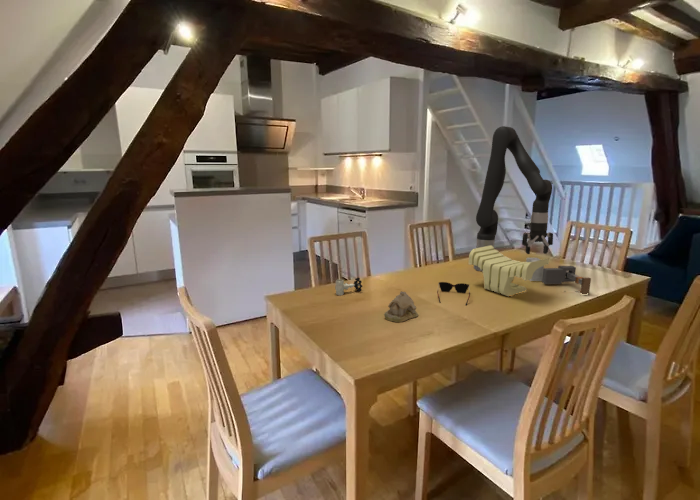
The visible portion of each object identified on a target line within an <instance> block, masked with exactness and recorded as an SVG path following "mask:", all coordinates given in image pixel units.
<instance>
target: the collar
mask: <svg viewBox="0 0 700 500" xmlns="http://www.w3.org/2000/svg"><path fill="white" fill-rule="evenodd" d="M559 266H560V268H558V267H554V268H553V267H547V268H545V267H544V268H543V277H542V283H543V284H545V285H562V283H564V282H565V283H566V282H567V283H568V282H570V283H571V282H573V283H574V282H575V281H573V280H571V279H569V278H567V277H566V271H569V272H571V273H573V274H575V275H576V269H577V267H575V266H574V265H559Z"/></svg>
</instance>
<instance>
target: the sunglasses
mask: <svg viewBox="0 0 700 500" xmlns="http://www.w3.org/2000/svg"><path fill="white" fill-rule="evenodd" d="M437 284H438V285H437V288H440V291H441V292H445V293H450V292H451V291H452V289H453V288H454V289H455V291H456V292H457V293H459V294H466V293H467V291H468V290H469V291H468V297H467V299H466V303H465V306H467V305H468V302H469V301H470V297H471V289H470V284H467V283H457V284H452V283H450V282H447V281H439V282H438V283H437ZM436 293H437V299H438V301H439V302H438V303H439V304H442V303H441V299H440V296H439V289H437V292H436Z"/></svg>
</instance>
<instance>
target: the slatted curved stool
mask: <svg viewBox="0 0 700 500" xmlns="http://www.w3.org/2000/svg"><path fill="white" fill-rule="evenodd" d="M549 263H550V257H548V258H544V259H540V260H539V261H535V262H526V261H519V260H515V259H512V258H511V257H508V256H506V255H504V254H503V253H502V252H500V251H499V250H498V249H495V246H494V247H493V246H492V245H490V246H485V247H480V248H476V247H475V248H473V249H472V250H471V251H470V252H469V255H468V266H469V265H470V266H472V265H473V266H474V265H475V266H478V267H479V268H480V269H481V270H482V269H483V271H482V276H483V288H484V289H485V290H487V291H491V292H493V291H494V293H496V294H500V293H501V294H500V295H503V296H507V297H509V295H513V294H516V293H519V292H522V291H525V290H527V287H526V286H523V285H520V284H517V283H513V280H514V279H515V277H516V278H519V279H520V278H521V279H522V280H524V281H530V279H532V276H533V273H534V272H535V270H537V269H538V268H540V267H542V266H546V265H547V266H548V265H549ZM527 291H528V290H527Z"/></svg>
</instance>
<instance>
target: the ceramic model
mask: <svg viewBox="0 0 700 500" xmlns="http://www.w3.org/2000/svg"><path fill="white" fill-rule="evenodd" d="M388 308H389V309H387V311H385V312H384V314H383V316H384V319H385V320H386V321H389V322H396V323H401V322H406V321H407V320H410V319H412V318H417V317H418V316H419V313H418V312H417V311H416V310H417V305H415V302H414V299H413V298H412V297H411V296H409V294H408V293H407V292H406V291H400V292H399V294H398V295H395V298H393V299H392V300H391V301H390V302H389V303H388Z"/></svg>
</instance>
